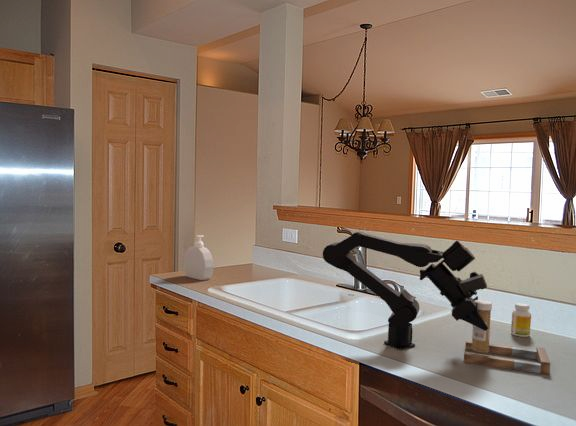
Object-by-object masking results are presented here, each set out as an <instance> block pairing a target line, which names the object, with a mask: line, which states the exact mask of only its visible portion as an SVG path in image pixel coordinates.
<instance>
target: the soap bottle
mask: <svg viewBox="0 0 576 426" xmlns="http://www.w3.org/2000/svg"><path fill="white" fill-rule="evenodd" d="M204 237H205V235H204V234H200V235H198V234H197V235H196V241H195V242H194V243H193V246H191V247H189V248H188V249H187V251H186V252H185V256H184V261H183V265H184V266H183V268H184V272H185V276H186V277H187V278H191V279H194V280H198V281H207V280H210V279H211V277H212V275H213V272H214V266H215V265H214V259H213V256H212V253H211V251H210V250H209V249H208V248H207V247H204V245H205V244H204V242H203V241H202V238H204Z"/></svg>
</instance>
